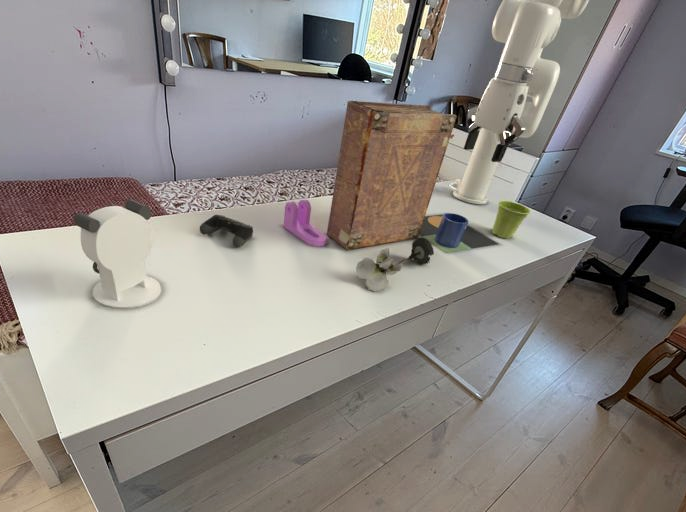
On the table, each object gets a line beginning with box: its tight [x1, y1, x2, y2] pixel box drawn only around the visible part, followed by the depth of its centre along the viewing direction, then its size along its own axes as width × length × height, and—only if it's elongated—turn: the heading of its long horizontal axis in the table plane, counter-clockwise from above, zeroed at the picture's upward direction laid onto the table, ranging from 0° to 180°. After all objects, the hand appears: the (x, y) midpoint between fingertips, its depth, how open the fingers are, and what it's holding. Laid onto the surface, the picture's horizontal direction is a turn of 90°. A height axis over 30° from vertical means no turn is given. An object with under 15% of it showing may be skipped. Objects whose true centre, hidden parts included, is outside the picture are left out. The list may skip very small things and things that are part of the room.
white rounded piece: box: [73, 198, 162, 310], centre depth 67 cm, size 12×11×15 cm
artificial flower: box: [355, 236, 435, 293], centre depth 89 cm, size 9×22×10 cm, turn 129°
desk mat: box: [419, 214, 499, 253], centre depth 116 cm, size 22×22×1 cm
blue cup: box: [435, 212, 469, 248], centre depth 108 cm, size 7×7×7 cm
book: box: [326, 100, 457, 251], centre depth 96 cm, size 25×9×30 cm, turn 123°
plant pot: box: [491, 200, 532, 240], centre depth 118 cm, size 9×9×9 cm
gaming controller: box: [198, 214, 254, 248], centre depth 92 cm, size 12×8×5 cm, turn 63°
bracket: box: [282, 199, 328, 247], centre depth 98 cm, size 13×6×7 cm, turn 39°
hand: (481, 155), depth 101 cm, fingers open, 9 cm apart
